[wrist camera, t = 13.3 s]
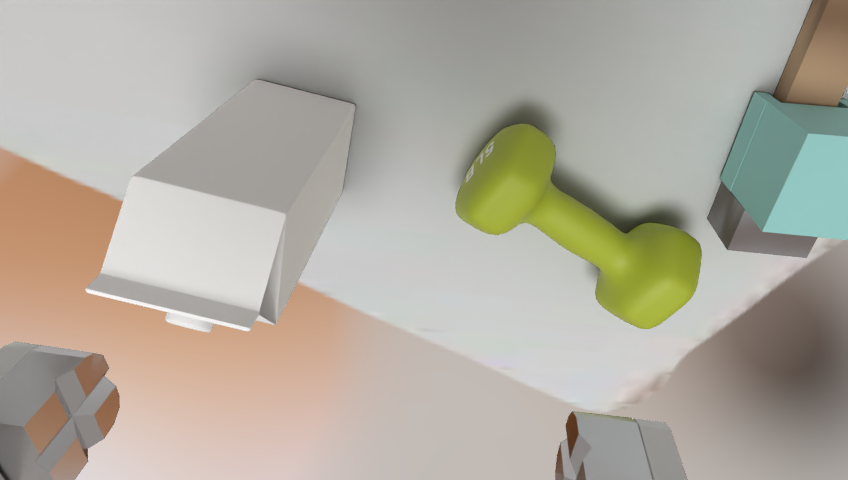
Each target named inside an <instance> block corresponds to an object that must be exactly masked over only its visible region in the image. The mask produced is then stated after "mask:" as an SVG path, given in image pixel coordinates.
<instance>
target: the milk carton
mask: <svg viewBox="0 0 848 480" xmlns="http://www.w3.org/2000/svg"><path fill="white" fill-rule="evenodd" d="M354 114H355V105H354V104H351V103H348V102H344V101H340V100H336V99H332V98H329V97H325V96H321V95H317V94H313V93H309V92H305V91H301V90H297V89H293V88H289V87H286V86H282V85H278V84H274V83H270V82H266V81H262V80H254V81H252V82H251V83H250V84H248V85H247V86H246V87H245V88H243V89H242V90H241V91H240V92H238V93H237V94H236V95H234V96H233V97H232V98H231V99H229V100H228V101H227V102H226V103H224V104H223V105H222V106H221V107H219V108H218V109H217V110H216V111H214V112H213V113H212V114H211V115H209V116H208V117H207V118H205V119H204V120H203V121H202V122H200V123H199V124H198V125H197V126H195V127H194V128H193V129H192V130H190V131H189V132H188V133H187V134H185V135H184V136H183V137H181V138H180V139H179V140H178V141H176V142H175V143H174V144H173V145H171V146H170V147H169V148H168V149H166V150H165V151H164V152H163V153H161V154H160V155H159V156H158V157H156V158H155V159H154V160H152V161H151V162H150V163H149V164H147V165H146V166H145V167H144V168H142V169H141V170H140V171H139V172H137V173H136V174H135V175H134V176H131V179H130V182H129V185H128V188H127V192H126V195H125V198H124V201H123V204H122V207H121V210H120V213H119V217H118V220H117V223H116V226H115V229H114V232H113V236H112V238H111V242H110V245H109V248H108V251H107V254H106V257H105V260H104V263H103V267H102V270H101V273H100V274H99V275H98V276H97V277H96V278H95V279H94V280H93V281H92V282H91V283H90V284H89V285H88V286H87V287H86V292H88V293H91V294H95V295H100V296H103V297H108V298H112V299H116V300H120V301H124V302H128V303H132V304H136V305H141V306H145V307H149V308H153V309H157V310H161V311H166V312H167V315H166V318H165V320H166V321H167V322H169V323H172V324H175V325H179V326H183V327H187V328H191V329H195V330H199V331H204V332H210V331H212V328H213V325H214V323H215V324H220V325H223V326H227V327H232V328H236V329H240V330H244V331H249V330H251V328H252V326H253V324H254V322H255V321H256V320H257V321H261V322H266V323H270V324H274V325H276V323H277V321H278V319H279V317H280V315H281V314H282V312H283V310H284V308H285V305H286V304H287V301H288V300H289V297H290V296H291V294H292V292H293V290H294V288H295V286H296V284H297V282H298V280H299V278H300V276H301V274H302V272H303V270H304V268H305V266H306V264H307V262H308V260H309V258H310V256H311V254H312V252H313V250H314V248H315V246H316V244H317V242H318V240H319V238H320V236H321V234H322V232H323V230H324V228H325V226H326V224H327V222H328V220H329V218H330V216H331V214H332V212H333V210H334V208H335V206H336V204H337V202H338V200H339V198H340V196H341V194H342V191H343V184H344V178H345V171H346V165H347V159H348V152H349V146H350V139H351V133H352V127H353V120H354Z"/></svg>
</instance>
